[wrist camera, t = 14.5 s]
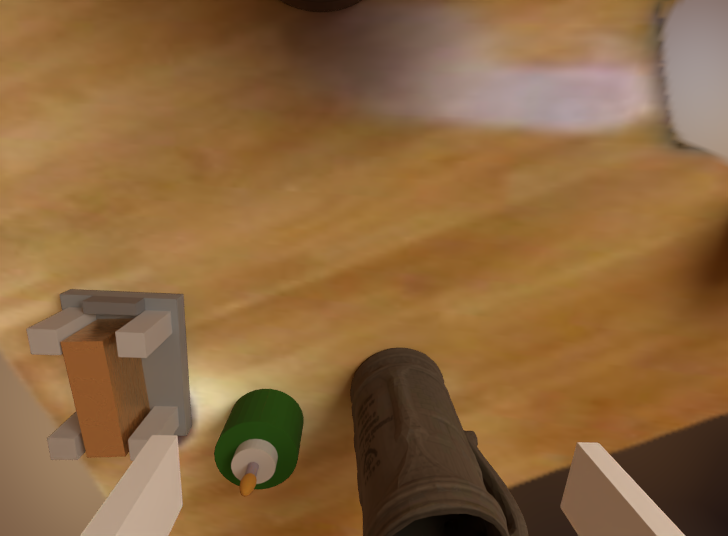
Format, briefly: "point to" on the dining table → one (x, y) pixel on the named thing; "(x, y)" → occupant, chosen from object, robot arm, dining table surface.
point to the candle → (260, 440)
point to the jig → (135, 339)
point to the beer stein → (421, 456)
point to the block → (105, 388)
